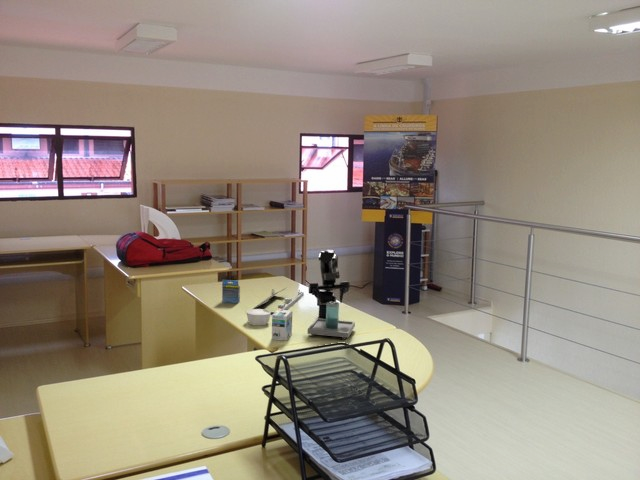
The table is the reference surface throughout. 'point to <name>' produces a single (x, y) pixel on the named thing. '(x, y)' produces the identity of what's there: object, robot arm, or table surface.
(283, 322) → the light bulb box
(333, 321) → the teal canister
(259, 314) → the ramekin
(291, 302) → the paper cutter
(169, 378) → the table surface
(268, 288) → the table surface
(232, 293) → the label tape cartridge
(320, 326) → the shallow grey tray
